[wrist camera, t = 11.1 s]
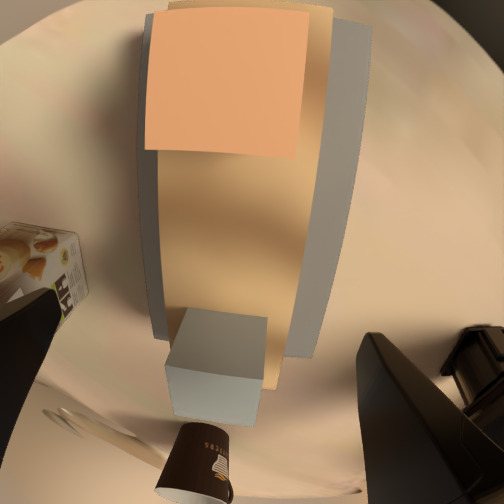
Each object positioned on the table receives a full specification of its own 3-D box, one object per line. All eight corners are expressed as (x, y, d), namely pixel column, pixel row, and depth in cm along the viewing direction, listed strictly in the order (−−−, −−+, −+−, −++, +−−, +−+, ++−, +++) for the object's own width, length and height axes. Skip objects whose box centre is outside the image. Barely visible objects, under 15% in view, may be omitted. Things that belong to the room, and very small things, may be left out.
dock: (309, 332, 24) (311, 358, 21) (165, 314, 24) (153, 338, 22) (358, 37, 14) (372, 26, 11) (164, 25, 14) (145, 14, 12)
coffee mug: (164, 414, 32) (143, 481, 23) (233, 420, 31) (221, 495, 22) (187, 452, 37) (173, 507, 28) (243, 457, 36) (236, 516, 28)
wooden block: (276, 346, 21) (275, 389, 17) (188, 334, 21) (174, 375, 18) (319, 31, 12) (333, 8, 8) (194, 24, 12) (168, 2, 8)
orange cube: (289, 142, 11) (295, 159, 7) (186, 135, 11) (145, 149, 7) (299, 44, 9) (309, 12, 5) (193, 39, 9) (154, 11, 6)
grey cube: (259, 369, 16) (254, 427, 13) (191, 359, 17) (174, 414, 13) (267, 317, 15) (263, 380, 11) (188, 306, 15) (164, 365, 11)
